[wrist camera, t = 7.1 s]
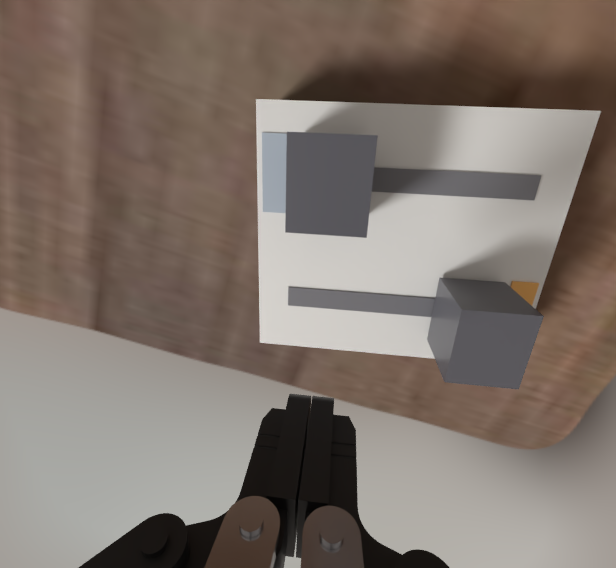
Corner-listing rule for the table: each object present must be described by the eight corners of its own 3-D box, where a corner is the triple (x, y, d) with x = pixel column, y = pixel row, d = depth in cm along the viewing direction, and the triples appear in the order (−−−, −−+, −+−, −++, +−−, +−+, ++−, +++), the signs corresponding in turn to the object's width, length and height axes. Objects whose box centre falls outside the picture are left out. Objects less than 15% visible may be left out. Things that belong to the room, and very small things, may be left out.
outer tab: (426, 339, 21) (444, 382, 17) (439, 277, 19) (461, 309, 15) (487, 344, 20) (518, 389, 17) (504, 282, 19) (543, 316, 15)
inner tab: (297, 214, 19) (285, 232, 15) (299, 133, 17) (286, 131, 13) (362, 218, 18) (366, 237, 15) (370, 136, 17) (377, 135, 13)
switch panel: (272, 314, 26) (259, 343, 22) (272, 106, 21) (255, 98, 17) (491, 332, 25) (517, 367, 21) (552, 117, 19) (602, 110, 15)
